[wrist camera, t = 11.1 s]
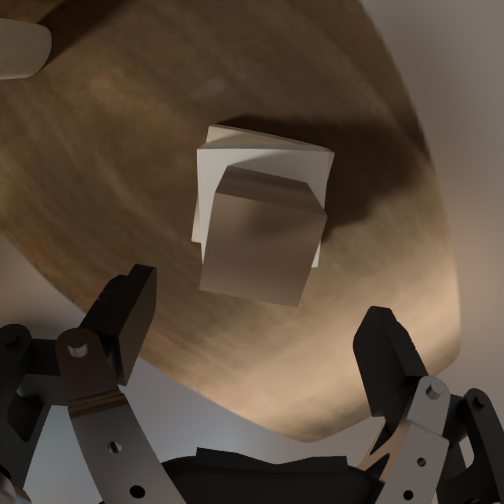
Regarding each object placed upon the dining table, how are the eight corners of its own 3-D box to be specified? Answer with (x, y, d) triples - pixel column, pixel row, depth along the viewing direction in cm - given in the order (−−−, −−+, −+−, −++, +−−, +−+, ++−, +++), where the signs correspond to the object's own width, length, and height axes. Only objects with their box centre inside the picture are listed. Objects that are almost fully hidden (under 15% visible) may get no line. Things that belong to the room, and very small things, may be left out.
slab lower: (215, 123, 22) (209, 126, 20) (326, 147, 23) (334, 153, 20) (198, 226, 26) (191, 241, 24) (298, 245, 27) (302, 262, 24)
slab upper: (205, 143, 20) (196, 149, 18) (319, 145, 20) (328, 152, 17) (209, 246, 24) (202, 264, 21) (311, 248, 24) (317, 267, 21)
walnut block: (227, 165, 18) (214, 192, 13) (306, 182, 18) (327, 216, 13) (213, 238, 20) (199, 289, 15) (287, 253, 21) (297, 307, 15)
